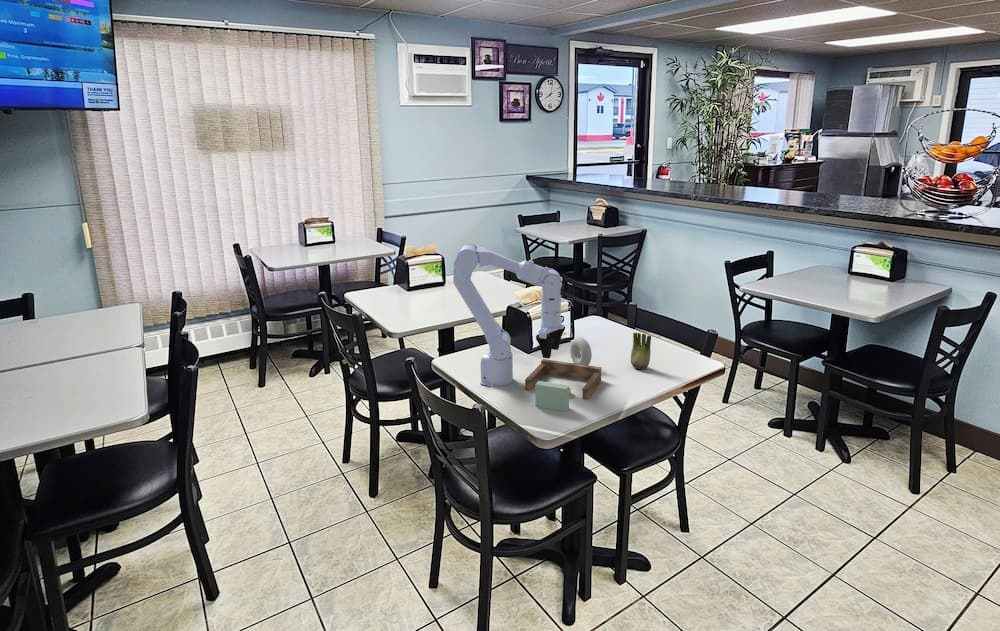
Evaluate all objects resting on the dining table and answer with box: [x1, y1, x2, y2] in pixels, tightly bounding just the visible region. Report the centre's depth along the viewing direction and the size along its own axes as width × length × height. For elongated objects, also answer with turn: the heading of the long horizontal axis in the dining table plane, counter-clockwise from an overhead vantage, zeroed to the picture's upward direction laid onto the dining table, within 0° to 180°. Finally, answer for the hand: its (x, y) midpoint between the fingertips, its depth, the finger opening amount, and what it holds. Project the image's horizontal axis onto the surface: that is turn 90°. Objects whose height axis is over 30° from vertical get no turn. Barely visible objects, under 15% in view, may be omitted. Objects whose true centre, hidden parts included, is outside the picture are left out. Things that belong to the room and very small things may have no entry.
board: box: [534, 380, 570, 412], centre depth 163 cm, size 9×2×7 cm, turn 66°
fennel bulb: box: [630, 332, 652, 370], centre depth 189 cm, size 6×5×12 cm
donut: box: [569, 336, 593, 366], centre depth 192 cm, size 10×4×10 cm, turn 25°
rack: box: [524, 358, 603, 401], centre depth 178 cm, size 19×15×5 cm
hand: (550, 353), depth 179 cm, fingers open, 7 cm apart
